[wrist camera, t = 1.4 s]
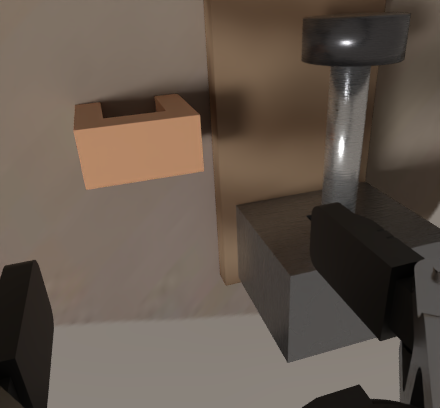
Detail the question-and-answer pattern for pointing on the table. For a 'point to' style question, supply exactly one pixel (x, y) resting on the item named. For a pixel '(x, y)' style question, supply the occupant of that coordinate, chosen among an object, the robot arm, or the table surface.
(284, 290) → the block
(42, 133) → the table surface
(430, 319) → the robot arm
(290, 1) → the baseboard
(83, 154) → the spacer
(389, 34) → the shaft
